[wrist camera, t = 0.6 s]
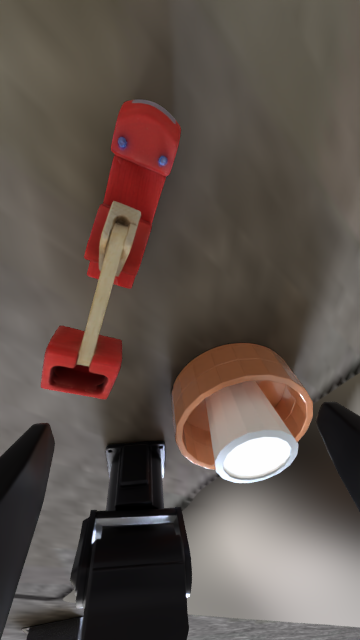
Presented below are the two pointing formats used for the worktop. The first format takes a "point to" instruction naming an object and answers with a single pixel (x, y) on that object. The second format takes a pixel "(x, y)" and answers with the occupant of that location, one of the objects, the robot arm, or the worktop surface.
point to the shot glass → (248, 434)
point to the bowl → (228, 370)
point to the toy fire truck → (115, 246)
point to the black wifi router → (56, 630)
